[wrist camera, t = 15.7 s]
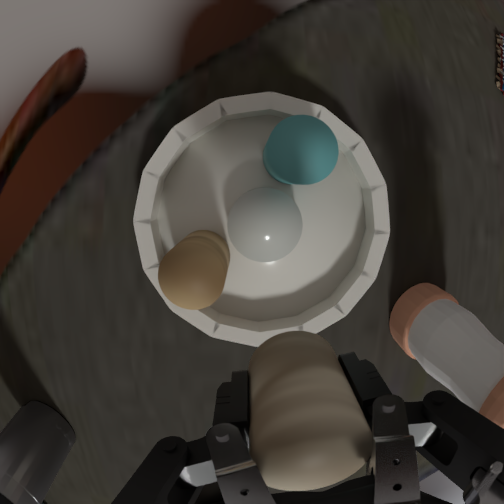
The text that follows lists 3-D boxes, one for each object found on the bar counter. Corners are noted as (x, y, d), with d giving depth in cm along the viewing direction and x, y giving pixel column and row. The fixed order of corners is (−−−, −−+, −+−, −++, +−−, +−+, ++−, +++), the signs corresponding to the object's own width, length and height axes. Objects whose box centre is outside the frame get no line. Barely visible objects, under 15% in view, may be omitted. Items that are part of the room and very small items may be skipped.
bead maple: (292, 313, 13) (320, 399, 8) (352, 361, 14) (396, 443, 8) (230, 372, 14) (222, 467, 8) (292, 412, 15) (307, 499, 9)
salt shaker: (448, 323, 28) (557, 418, 10) (397, 356, 29) (489, 481, 10) (437, 270, 27) (577, 355, 8) (380, 304, 28) (501, 435, 9)
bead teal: (267, 187, 24) (273, 189, 18) (258, 134, 23) (262, 118, 17) (320, 180, 24) (343, 180, 18) (312, 128, 23) (332, 112, 17)
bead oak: (218, 289, 26) (210, 319, 20) (171, 269, 25) (149, 294, 19) (238, 242, 25) (235, 260, 19) (188, 221, 24) (170, 233, 18)
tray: (175, 338, 28) (167, 356, 25) (132, 128, 23) (118, 122, 20) (377, 307, 28) (390, 321, 24) (357, 96, 23) (370, 87, 20)
